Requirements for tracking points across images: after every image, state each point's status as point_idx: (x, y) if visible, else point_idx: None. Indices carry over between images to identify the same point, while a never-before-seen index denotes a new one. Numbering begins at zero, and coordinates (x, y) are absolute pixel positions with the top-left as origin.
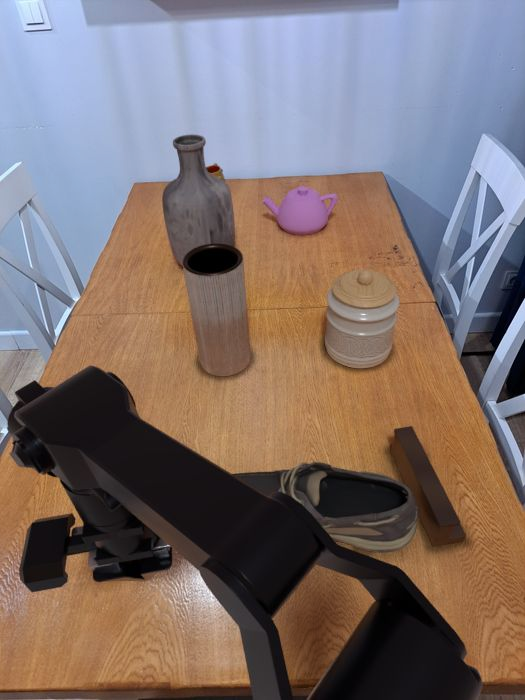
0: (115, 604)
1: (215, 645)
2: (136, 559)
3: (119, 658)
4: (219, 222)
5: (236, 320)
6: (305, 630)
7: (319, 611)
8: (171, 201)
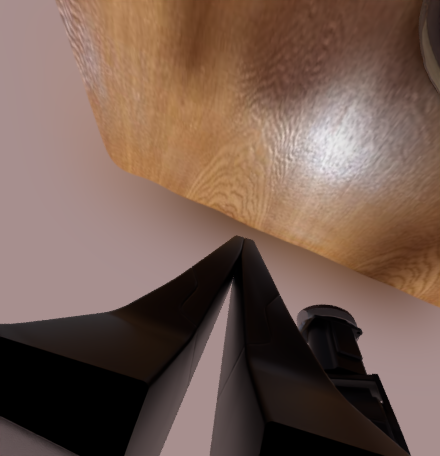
0: (204, 126)
1: (298, 216)
2: (211, 319)
3: (205, 187)
4: None
5: None
6: (400, 245)
7: (436, 238)
8: None
